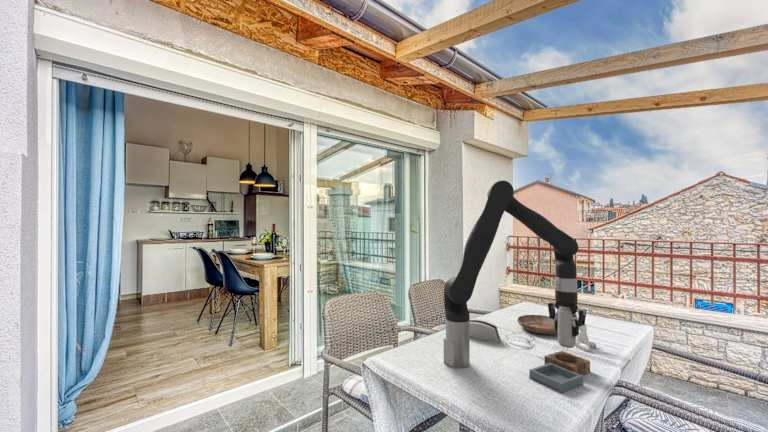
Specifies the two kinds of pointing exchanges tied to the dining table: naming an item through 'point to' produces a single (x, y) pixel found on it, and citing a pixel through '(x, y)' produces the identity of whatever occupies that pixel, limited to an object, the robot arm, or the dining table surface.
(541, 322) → the ceramic bowl
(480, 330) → the grey rounded slab
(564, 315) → the energy drink can
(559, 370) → the tray
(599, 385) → the dining table surface
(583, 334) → the sitting furry creature
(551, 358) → the bore block
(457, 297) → the robot arm
